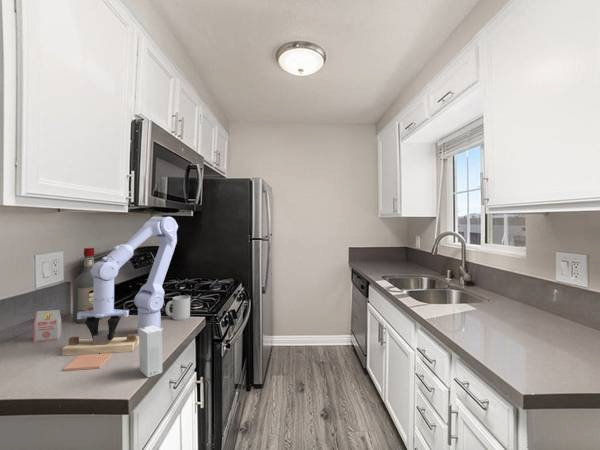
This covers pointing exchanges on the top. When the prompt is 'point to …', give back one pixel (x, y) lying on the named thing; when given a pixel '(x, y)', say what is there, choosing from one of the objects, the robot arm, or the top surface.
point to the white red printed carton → (47, 325)
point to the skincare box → (150, 350)
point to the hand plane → (87, 347)
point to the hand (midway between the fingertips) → (103, 339)
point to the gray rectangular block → (101, 337)
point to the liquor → (84, 287)
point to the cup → (179, 308)
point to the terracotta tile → (88, 361)
